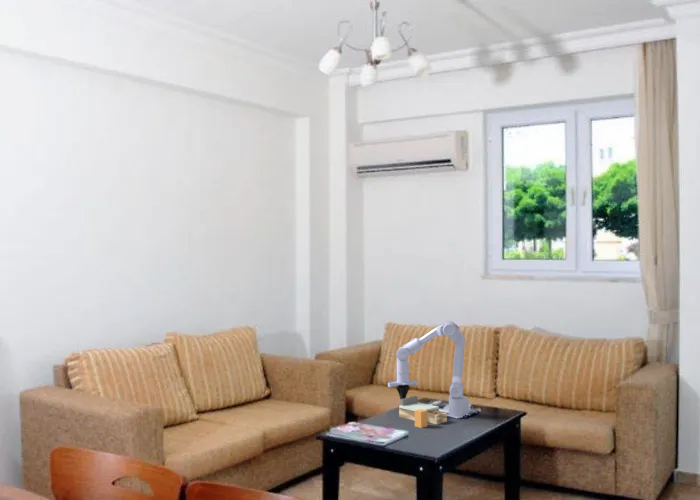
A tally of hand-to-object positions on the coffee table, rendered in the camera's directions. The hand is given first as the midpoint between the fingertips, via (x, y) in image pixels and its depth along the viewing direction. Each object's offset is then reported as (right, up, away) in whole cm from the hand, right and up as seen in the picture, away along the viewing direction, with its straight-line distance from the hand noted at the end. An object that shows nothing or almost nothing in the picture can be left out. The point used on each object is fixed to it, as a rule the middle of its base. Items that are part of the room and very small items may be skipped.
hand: (402, 401), depth 348 cm
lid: (+7, -2, -8) cm, 11 cm away
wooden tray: (+9, -6, -10) cm, 15 cm away
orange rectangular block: (+6, -6, -24) cm, 25 cm away
